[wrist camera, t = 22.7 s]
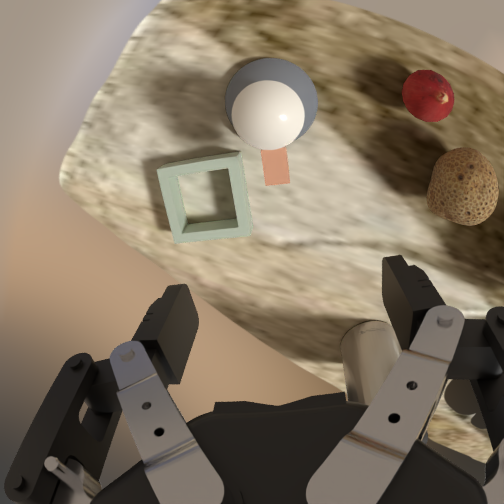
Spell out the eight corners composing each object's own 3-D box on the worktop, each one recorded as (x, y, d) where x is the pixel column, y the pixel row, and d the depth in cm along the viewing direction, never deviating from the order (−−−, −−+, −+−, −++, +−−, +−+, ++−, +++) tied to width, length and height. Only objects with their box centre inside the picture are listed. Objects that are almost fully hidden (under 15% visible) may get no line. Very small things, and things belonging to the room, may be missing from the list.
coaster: (321, 139, 35) (322, 141, 34) (234, 149, 36) (232, 151, 35) (310, 55, 30) (310, 53, 29) (220, 66, 32) (218, 65, 31)
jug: (242, 89, 32) (226, 86, 22) (294, 82, 31) (299, 76, 22) (254, 163, 36) (243, 190, 26) (304, 158, 35) (312, 182, 25)
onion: (398, 64, 29) (426, 58, 22) (440, 82, 29) (474, 82, 22) (388, 109, 32) (414, 114, 25) (430, 125, 32) (462, 134, 25)
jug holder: (252, 225, 40) (250, 235, 38) (181, 233, 42) (174, 243, 39) (240, 151, 36) (237, 156, 34) (165, 163, 38) (156, 169, 35)
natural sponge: (481, 154, 32) (526, 174, 24) (461, 215, 37) (498, 248, 28) (426, 130, 32) (467, 144, 24) (406, 197, 37) (438, 229, 28)
